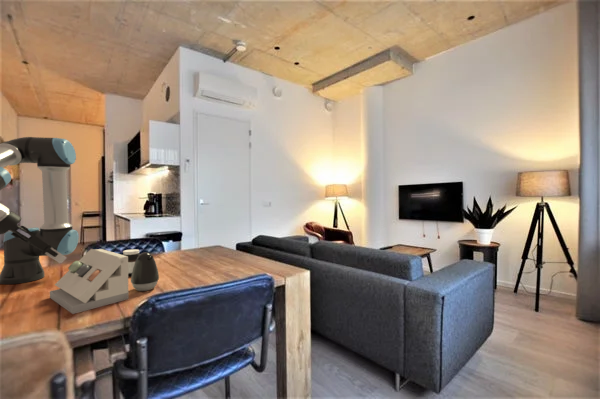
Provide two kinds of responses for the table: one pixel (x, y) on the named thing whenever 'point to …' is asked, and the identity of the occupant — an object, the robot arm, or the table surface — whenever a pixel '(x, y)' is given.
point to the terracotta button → (94, 275)
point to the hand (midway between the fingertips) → (63, 260)
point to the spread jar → (131, 259)
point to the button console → (94, 282)
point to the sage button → (75, 266)
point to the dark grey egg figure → (144, 273)
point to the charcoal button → (83, 270)
